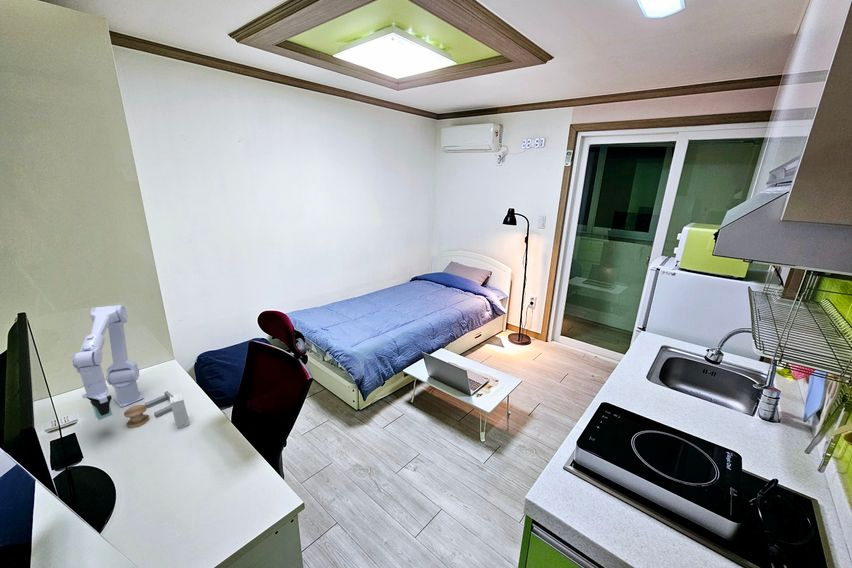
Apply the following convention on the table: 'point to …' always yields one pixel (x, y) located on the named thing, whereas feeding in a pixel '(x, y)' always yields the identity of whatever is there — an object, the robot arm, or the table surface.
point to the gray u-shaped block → (159, 400)
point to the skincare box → (179, 410)
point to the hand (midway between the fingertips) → (103, 411)
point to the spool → (136, 416)
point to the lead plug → (100, 414)
